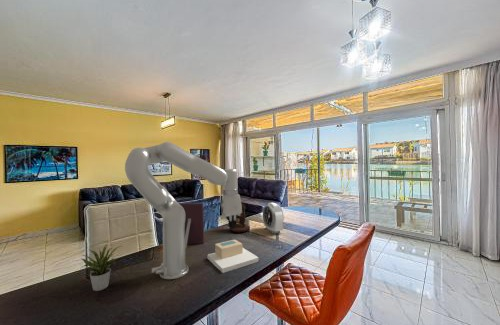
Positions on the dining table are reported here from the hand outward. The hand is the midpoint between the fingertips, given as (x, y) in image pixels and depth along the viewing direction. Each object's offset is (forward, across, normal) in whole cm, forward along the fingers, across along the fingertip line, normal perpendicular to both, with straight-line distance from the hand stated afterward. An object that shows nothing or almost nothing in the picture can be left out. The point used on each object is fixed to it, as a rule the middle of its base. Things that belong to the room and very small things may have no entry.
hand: (232, 227), depth 113 cm
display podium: (+16, -1, -1) cm, 16 cm away
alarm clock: (+17, +45, +23) cm, 53 cm away
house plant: (+15, -56, +9) cm, 59 cm away
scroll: (+17, +26, +38) cm, 49 cm away
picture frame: (+16, -14, +31) cm, 37 cm away
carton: (+14, -1, +3) cm, 14 cm away
